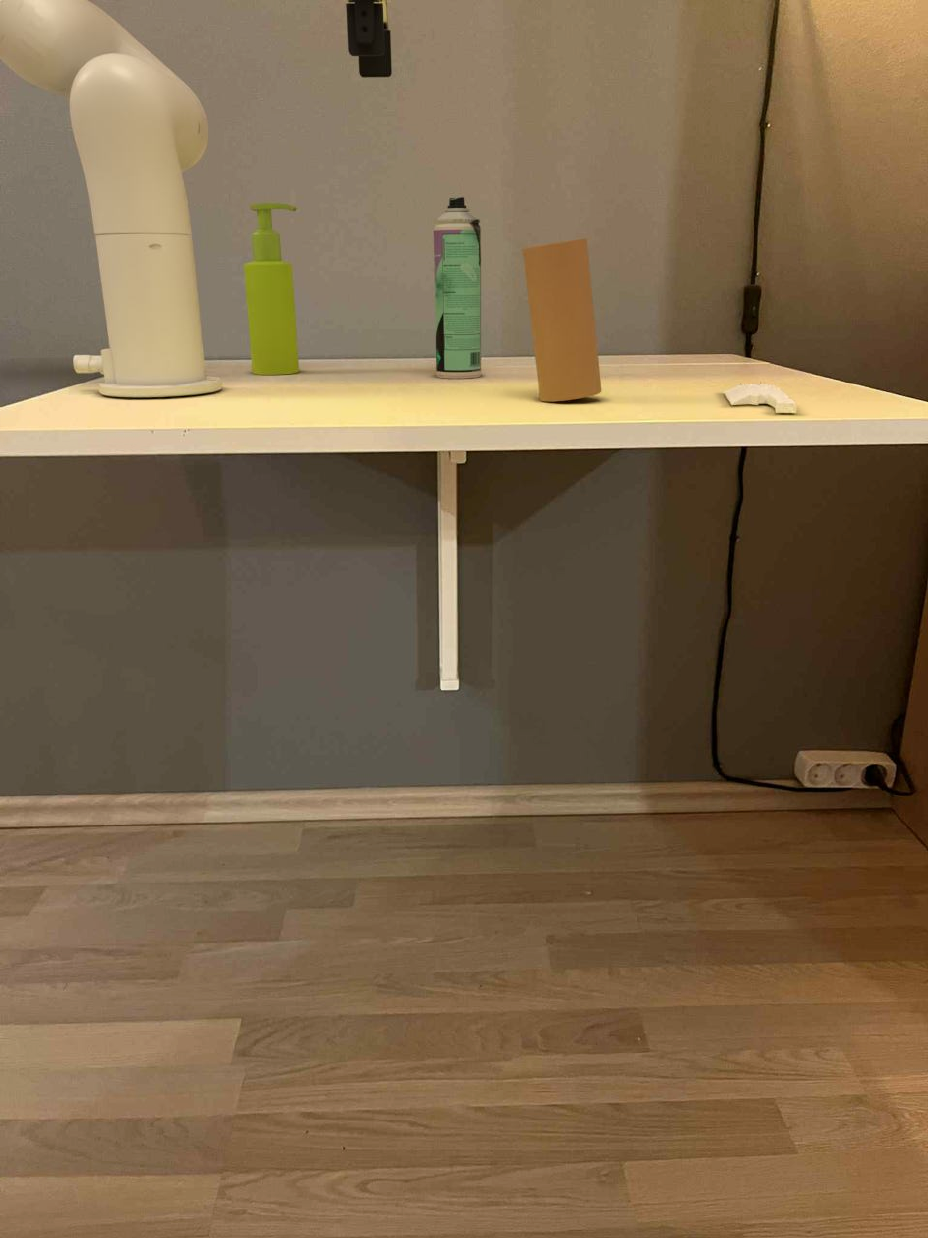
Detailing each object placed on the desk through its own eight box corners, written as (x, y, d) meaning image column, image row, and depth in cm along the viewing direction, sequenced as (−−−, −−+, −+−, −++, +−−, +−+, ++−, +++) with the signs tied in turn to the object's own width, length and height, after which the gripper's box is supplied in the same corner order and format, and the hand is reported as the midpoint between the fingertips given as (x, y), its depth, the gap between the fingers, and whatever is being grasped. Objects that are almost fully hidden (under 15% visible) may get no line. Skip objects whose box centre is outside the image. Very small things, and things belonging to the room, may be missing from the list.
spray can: (483, 374, 118) (482, 198, 111) (479, 378, 113) (478, 194, 106) (439, 374, 118) (436, 199, 112) (433, 378, 113) (430, 195, 106)
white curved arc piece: (734, 412, 83) (735, 399, 82) (723, 393, 97) (724, 382, 96) (796, 412, 82) (797, 399, 81) (775, 393, 96) (776, 382, 95)
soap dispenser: (302, 374, 119) (291, 200, 112) (248, 374, 119) (233, 201, 113) (310, 370, 125) (300, 204, 118) (258, 370, 125) (244, 205, 118)
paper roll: (524, 246, 85) (590, 236, 85) (520, 248, 91) (582, 238, 91) (542, 404, 90) (605, 395, 90) (537, 396, 96) (597, 387, 96)
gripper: (333, -115, 92) (342, 84, 98) (306, -199, 76) (319, 46, 82) (410, -116, 92) (414, 83, 98) (399, -199, 76) (406, 45, 82)
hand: (371, 66), depth 90 cm, fingers open, 9 cm apart
